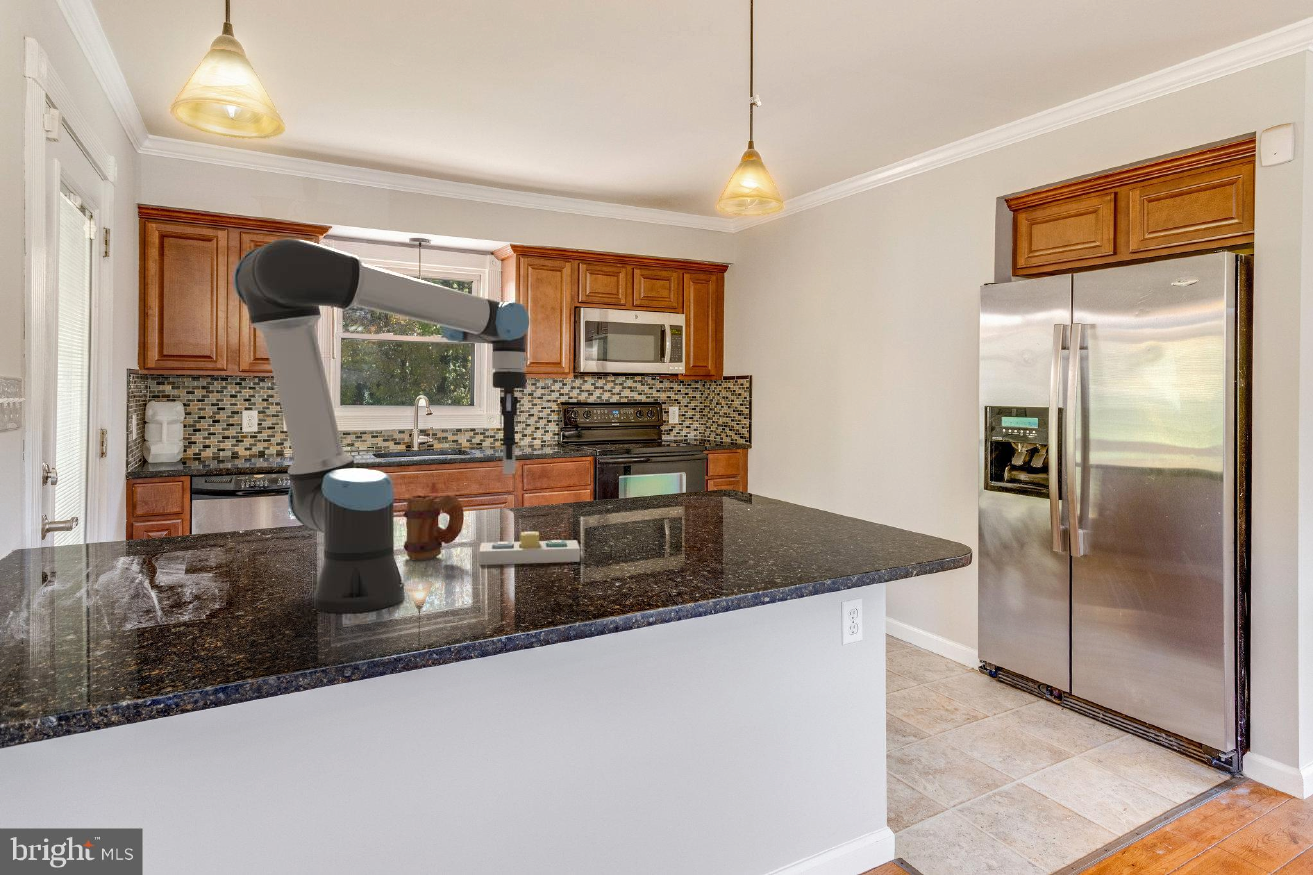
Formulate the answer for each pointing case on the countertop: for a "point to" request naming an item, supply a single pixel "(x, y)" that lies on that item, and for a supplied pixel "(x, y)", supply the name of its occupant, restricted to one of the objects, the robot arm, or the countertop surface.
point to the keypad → (529, 554)
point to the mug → (431, 524)
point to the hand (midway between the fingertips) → (509, 473)
